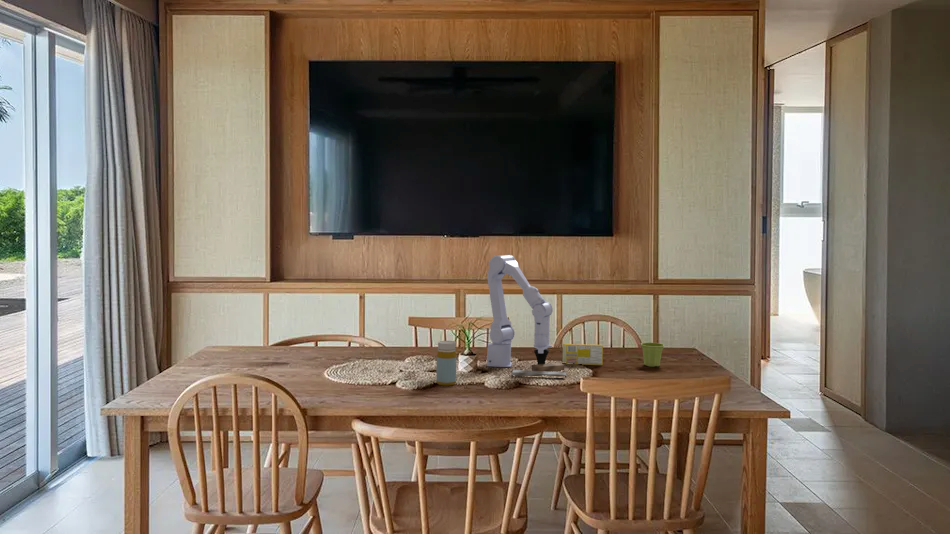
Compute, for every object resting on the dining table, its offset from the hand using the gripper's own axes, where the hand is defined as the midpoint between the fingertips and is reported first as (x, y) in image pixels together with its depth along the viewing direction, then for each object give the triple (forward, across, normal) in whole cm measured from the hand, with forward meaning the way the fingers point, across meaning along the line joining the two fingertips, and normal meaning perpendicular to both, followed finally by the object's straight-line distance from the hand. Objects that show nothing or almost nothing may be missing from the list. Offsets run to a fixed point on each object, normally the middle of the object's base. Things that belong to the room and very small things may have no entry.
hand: (541, 368), depth 308 cm
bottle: (+1, -29, +32) cm, 43 cm away
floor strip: (+1, -10, 0) cm, 10 cm away
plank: (+1, -2, -3) cm, 3 cm away
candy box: (+2, +18, -16) cm, 24 cm away
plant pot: (+2, +22, -44) cm, 49 cm away
